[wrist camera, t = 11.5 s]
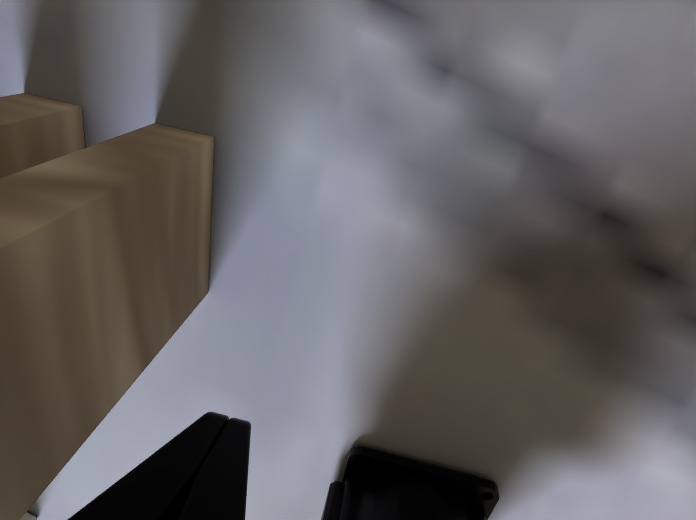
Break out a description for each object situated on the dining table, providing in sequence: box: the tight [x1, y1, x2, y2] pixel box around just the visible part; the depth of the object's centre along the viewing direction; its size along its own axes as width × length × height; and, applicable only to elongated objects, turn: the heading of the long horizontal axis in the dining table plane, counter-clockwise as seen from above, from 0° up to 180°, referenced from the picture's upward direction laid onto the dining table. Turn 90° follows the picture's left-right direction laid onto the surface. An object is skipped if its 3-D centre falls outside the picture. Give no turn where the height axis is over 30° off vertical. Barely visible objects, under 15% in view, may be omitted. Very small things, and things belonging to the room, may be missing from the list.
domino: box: [0, 123, 214, 520], centre depth 12 cm, size 2×6×10 cm, turn 169°
